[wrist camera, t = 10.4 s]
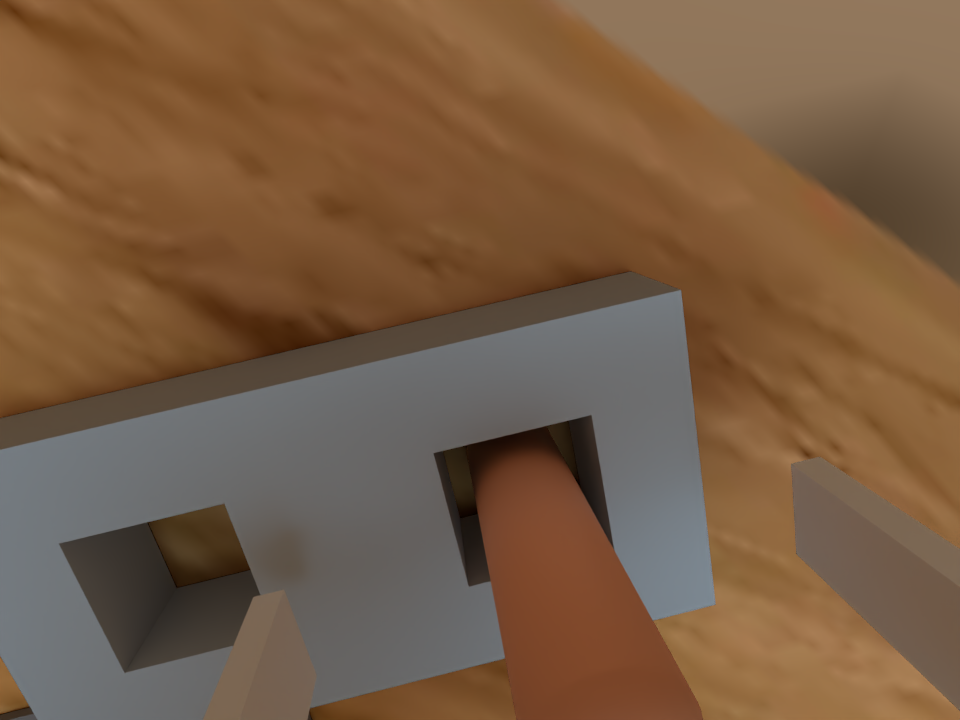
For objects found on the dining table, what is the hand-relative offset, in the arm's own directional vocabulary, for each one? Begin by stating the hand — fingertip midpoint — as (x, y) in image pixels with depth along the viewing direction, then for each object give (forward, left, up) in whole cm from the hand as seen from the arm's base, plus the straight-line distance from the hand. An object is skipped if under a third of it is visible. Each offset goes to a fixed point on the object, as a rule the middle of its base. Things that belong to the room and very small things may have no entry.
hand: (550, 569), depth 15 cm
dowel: (0, 0, -7) cm, 7 cm away
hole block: (-5, 0, -7) cm, 9 cm away
